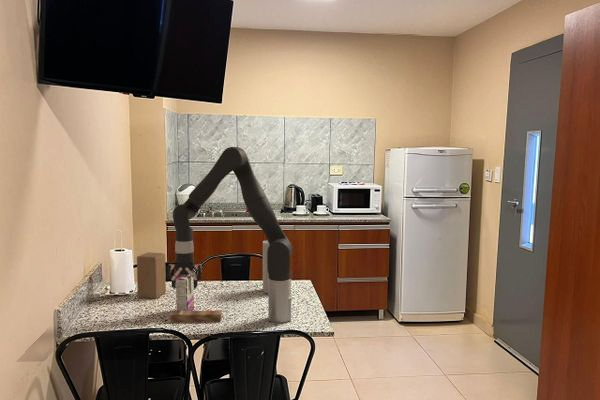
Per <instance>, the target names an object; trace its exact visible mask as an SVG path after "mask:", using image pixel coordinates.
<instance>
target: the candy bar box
mask: <svg viewBox="0 0 600 400" xmlns="http://www.w3.org/2000/svg"><path fill="white" fill-rule="evenodd" d="M175 279H176V288H175V295H176V296H175V297H176V298H175V299H176V300H175V301H176V302H175V303H176V311H194V309H195V299H194V298H195V297H194V294H195V293H194V279H193V277H191V275H190V274H189V275H180V274H179V276H177V277H176V278H175Z"/></svg>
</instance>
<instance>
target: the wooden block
mask: <svg viewBox="0 0 600 400" xmlns="http://www.w3.org/2000/svg"><path fill="white" fill-rule="evenodd" d="M136 271H137V272H136V275H137V277H136V278H137V280H136V281H137V285H136V286H137V297H138V298H143V299H154V300H155V299H158V298H160V297H162V296H163V295H165V294H166V291H167V288H166V287H167V286H166V285H167V283H166V279H167V273H166V254H165V253H164V252H163V253H162V252H150V251H149V252H145V253H142V254H140V255H138V256H137V257H136Z"/></svg>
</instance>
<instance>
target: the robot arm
mask: <svg viewBox="0 0 600 400" xmlns="http://www.w3.org/2000/svg"><path fill="white" fill-rule="evenodd" d="M231 172H233V174H234V175H235V177H236V178H237V181H238V183H239V186H240V192H241V196H242V199H243V202H244V205H245V207H246V209H247V211H248V213H249V214H250V217H251V218H252V219H253V221H254V222H255V223H256V224H257V225H258V227H259V228H260V229H261V231H263V233H264V235H265V237H266V239H267V240H268V242H269V247H268V251H267V270H268V275H269V293H268V294H267V295H268V301H267V303H268V305H267V306H268V307H267V308H268V309H267V310H268V312H267V313H268V314H267V317H268V318H267V319H268V321H270V322H272V323H278V324H279V323H281V324H283V323H287V322H292V295H291V294H292V272H291V258H290V257H291V255H292V253H293V245H292V243H291V241H290V240H289V238H288V237H287V235H286V234H285V232H284V231H283V229H282V227H281V225H280V224H279V222H278V219H277V217H276V214H275V212H274V209H273V207H272V205H271V203H270V201H269V199H268V197H267V196H266V193H265V191H264V189H263V188H262V186H261V184H260V182H259V181H258V179H257V177H256V175H255V173H254V170H253V168H252V165H251V163H250V159H249V156H248V154H247V153H246V151H245V150H244V149H243V148H241V147H238V146H229V147H227V148H225V149H224V150H223V151H222V153H221V154H220V156H219V157H218V158H217V160H216V162H215V164H214V165H213V167H212V168H211V169H210V170H209V171H208V173H206V175H205V176H204V177H203V179H202V180H201V181H200V182H199V183H198V184H197V185H196V186H195V187H194V188H193V189H192V190H191V191H190V193H189V194H188V198H187V199H186V201H184V202H183V203H181V204H178V205H176V206H175V207H174V209H173V210H172V219H173V220H172V221H173V225H174V229H175V244H174V245H175V246H174V247H175V249H174V251H175V256H174V257H175V259H174V260H175V261H174V262H175V264H172V263H169V264H168V265H167V267H166V268H167V270H166V271H167V272H166V279H168V280H170V281H171V288H172V289H173V290H176V278H178V275H179V276H180V275H189V274H190V275H191V277H193V290H196V289H197V288H198V285H199V284H198V283H199V282H198V280H201V279H202V277H203V271H202V270H203V268H202V264H201V263H198V264H195V261H194V259H195V257H194V255H195V253H194V251H195V248H194V246H195V245H194V229H193V227H192V226H191V225H190V220H191V219H193V218H194V217H195V216H196V214H198V212H199V211H200V209H201V208H202V206H203V205H204V204H205V203H206V202H207V201H208V200H209V198H210V197H212V195H213V194H214V193H215V191H216V190H217V188H218V186H219V185H220V183H221V182H222V181H223V180H224V179H225V178H226V176H228V175H229V174H230V173H231ZM173 269H175V271H176V272H175V273H174V274H173V275H172V270H173ZM194 269H196V270H197V274H196V272H195V271H194Z"/></svg>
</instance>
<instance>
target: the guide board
mask: <svg viewBox="0 0 600 400" xmlns="http://www.w3.org/2000/svg"><path fill="white" fill-rule="evenodd" d="M222 313H223V310H210V309H209V310H192V311H177V310H172V312H171V313H170V314H169V320H170V321H169V323H216V322H217V323H218V322H220V323H221V321H222V317H223V316H222Z"/></svg>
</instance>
